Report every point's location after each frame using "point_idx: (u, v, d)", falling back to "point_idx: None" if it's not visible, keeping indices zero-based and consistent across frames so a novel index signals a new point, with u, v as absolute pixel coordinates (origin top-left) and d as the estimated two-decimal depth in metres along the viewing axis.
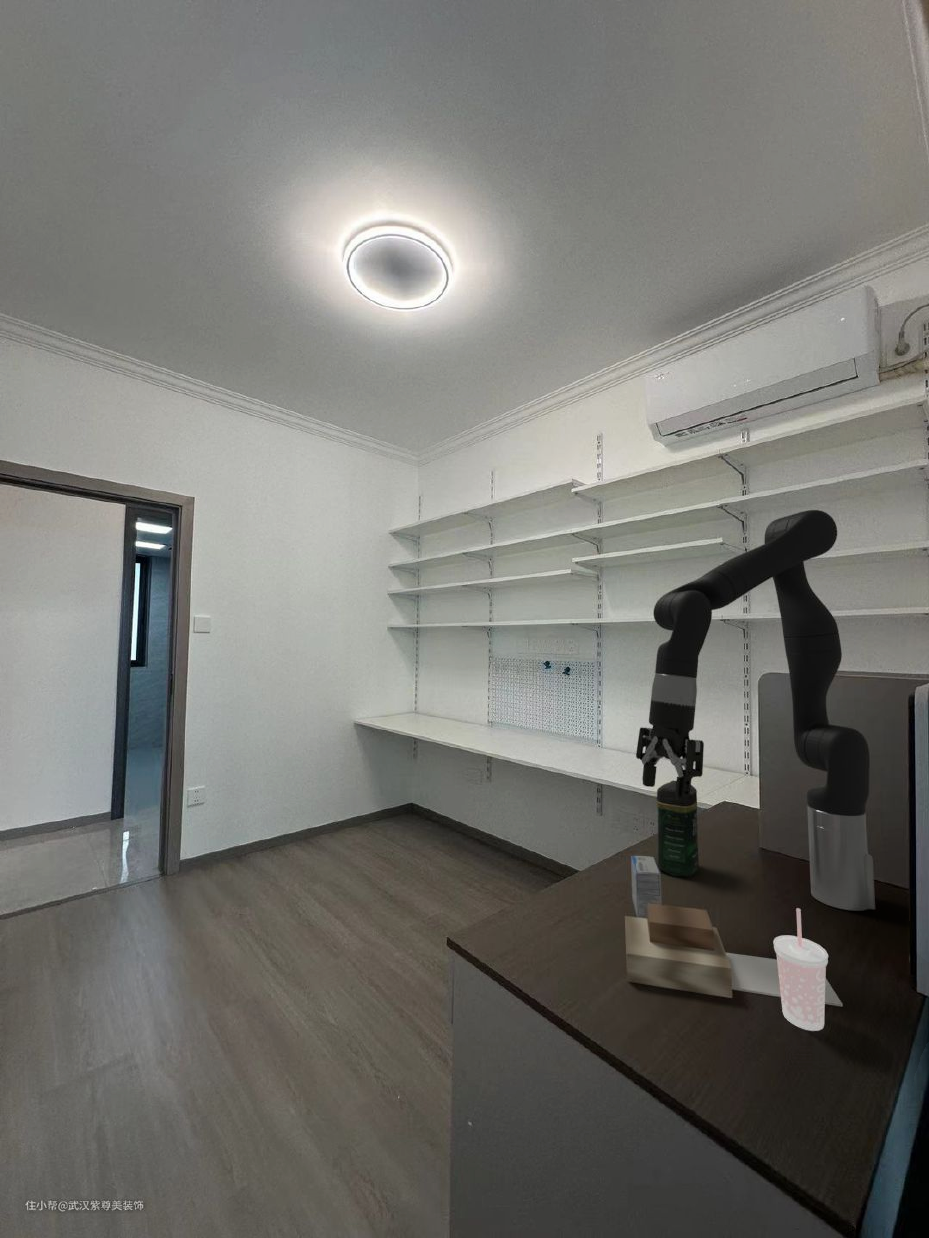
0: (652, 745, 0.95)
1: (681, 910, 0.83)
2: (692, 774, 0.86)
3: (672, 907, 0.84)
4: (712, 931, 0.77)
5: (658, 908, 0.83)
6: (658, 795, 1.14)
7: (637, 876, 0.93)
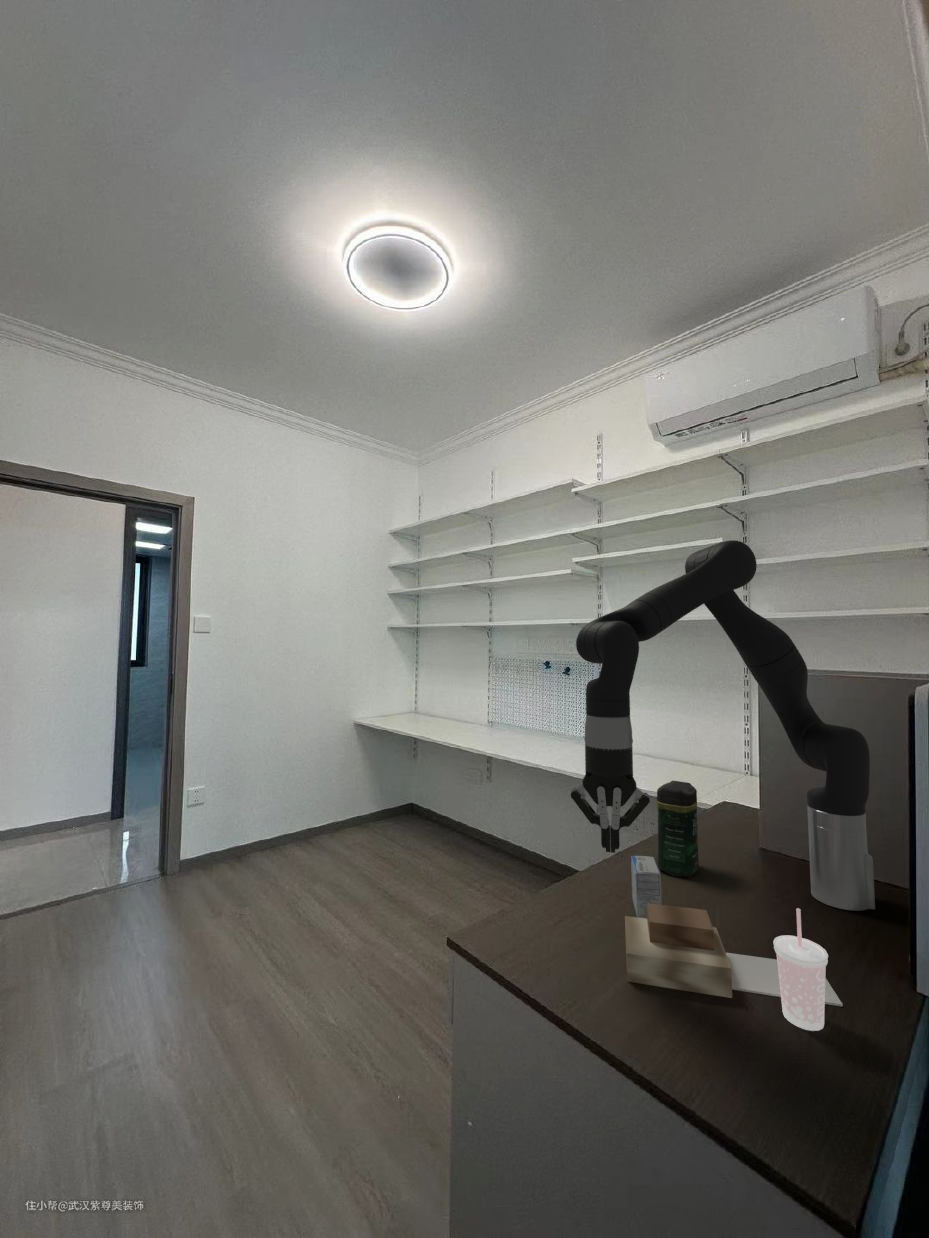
0: (601, 799, 0.84)
1: (681, 910, 0.83)
2: None
3: (672, 907, 0.84)
4: (712, 931, 0.77)
5: (658, 908, 0.83)
6: (658, 795, 1.14)
7: (637, 876, 0.93)
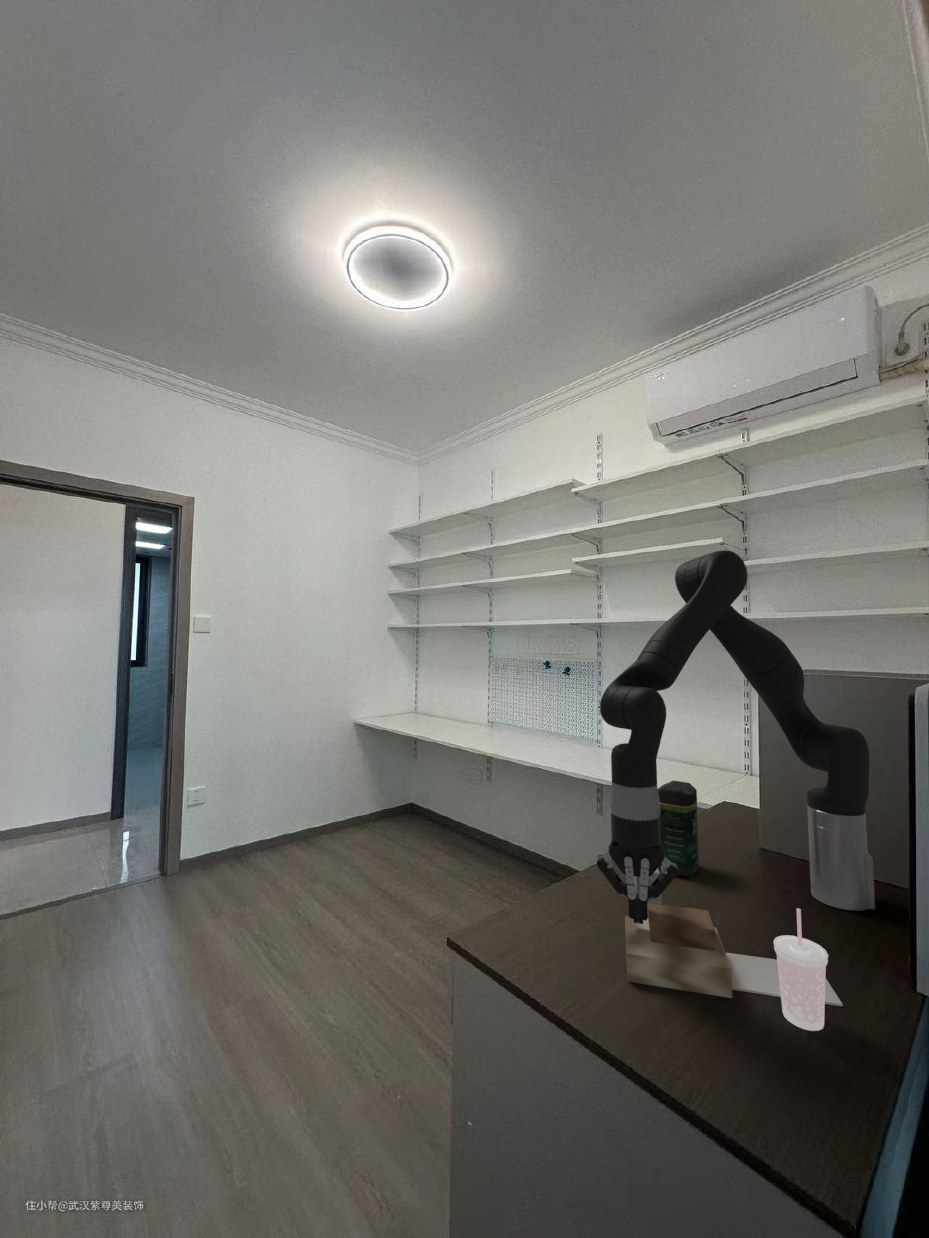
0: (628, 870, 0.82)
1: (682, 911, 0.83)
2: None
3: (673, 907, 0.84)
4: (713, 931, 0.77)
5: (659, 908, 0.83)
6: None
7: (637, 876, 0.93)
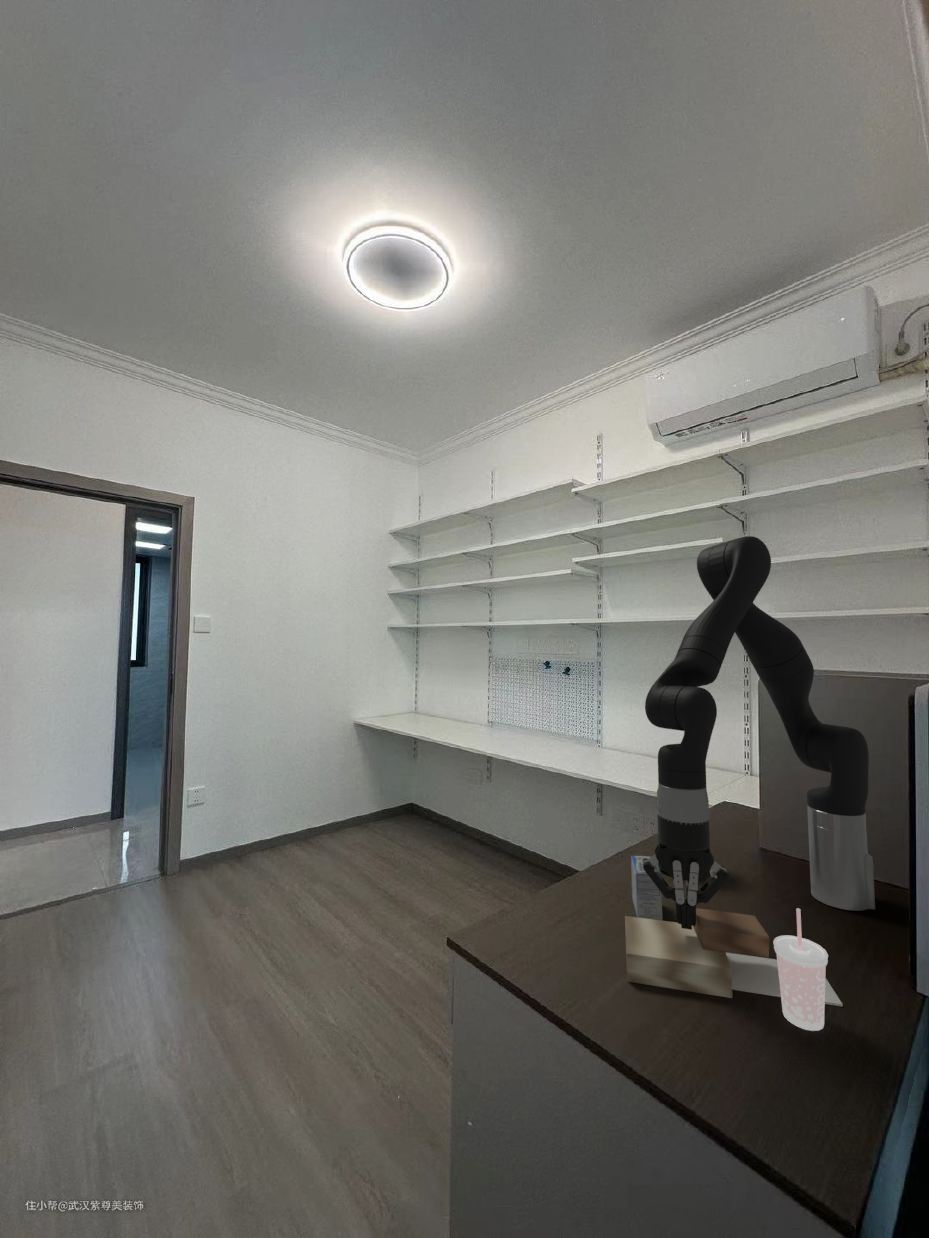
0: (676, 874, 0.80)
1: (730, 916, 0.81)
2: None
3: (720, 912, 0.82)
4: (768, 938, 0.76)
5: (707, 913, 0.82)
6: None
7: (637, 876, 0.93)
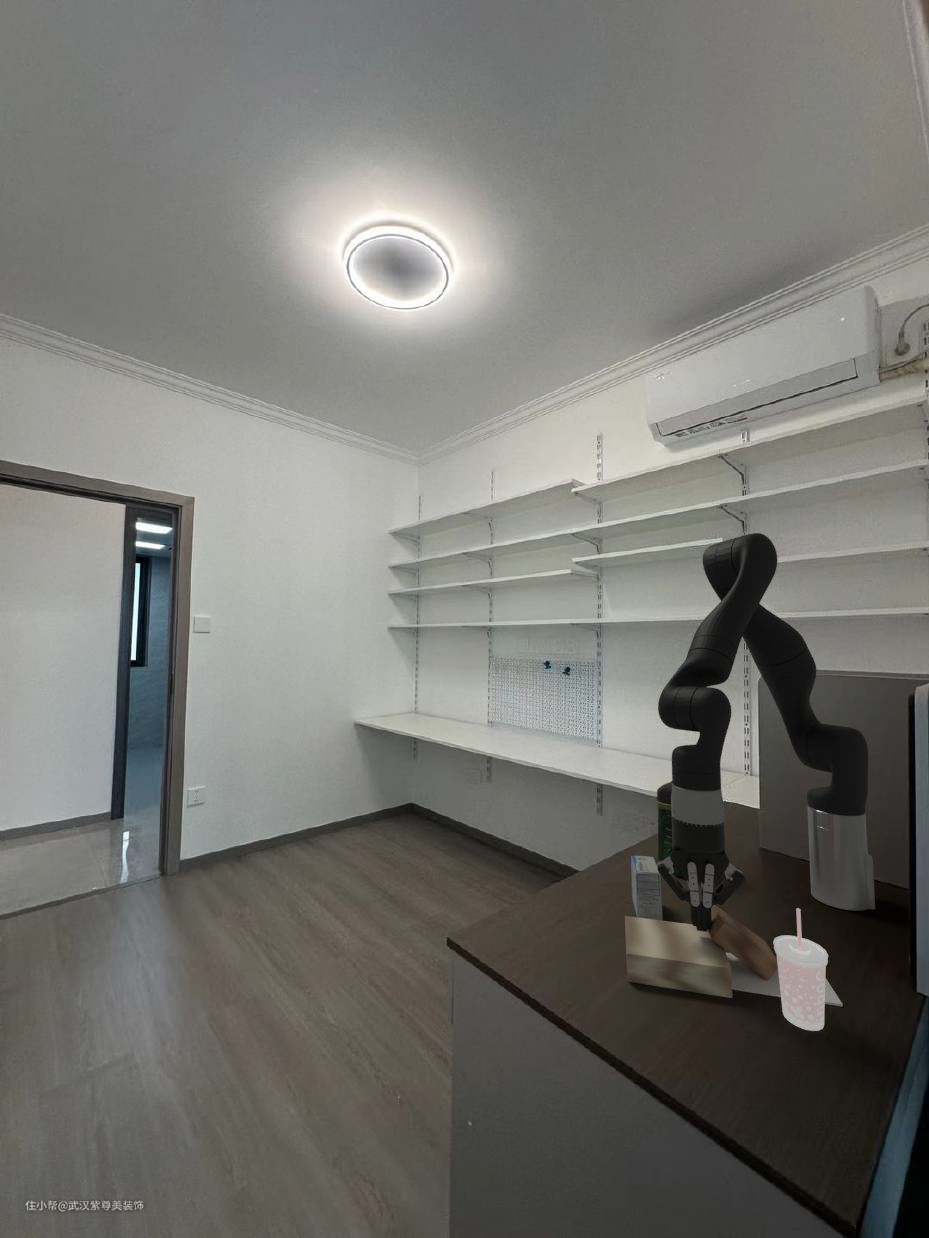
0: (691, 876, 0.80)
1: (745, 929, 0.81)
2: None
3: (736, 921, 0.82)
4: None
5: (725, 915, 0.81)
6: (658, 795, 1.14)
7: (637, 876, 0.93)
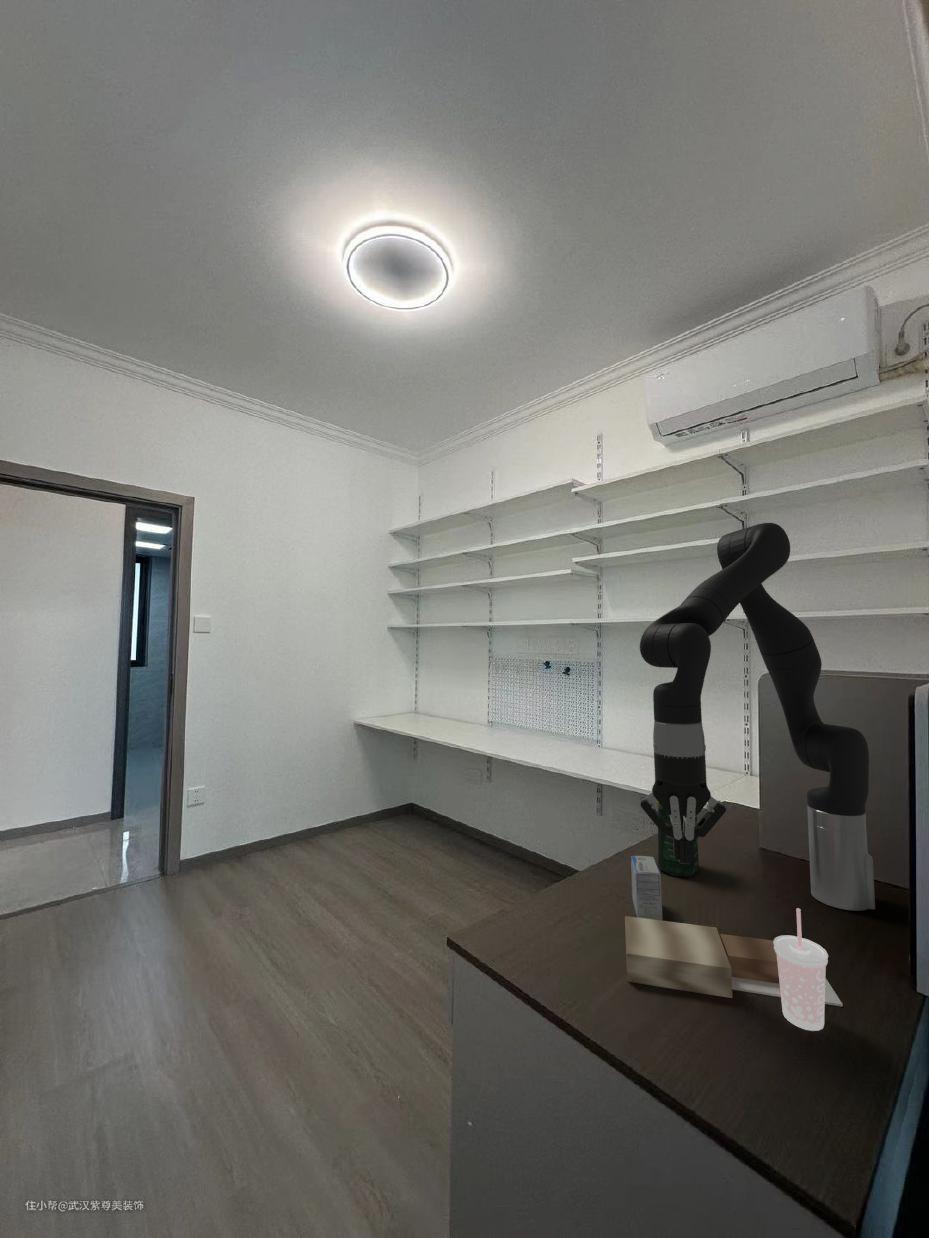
0: (674, 809, 0.80)
1: (758, 942, 0.80)
2: None
3: (747, 938, 0.81)
4: None
5: (733, 940, 0.81)
6: None
7: (637, 876, 0.93)
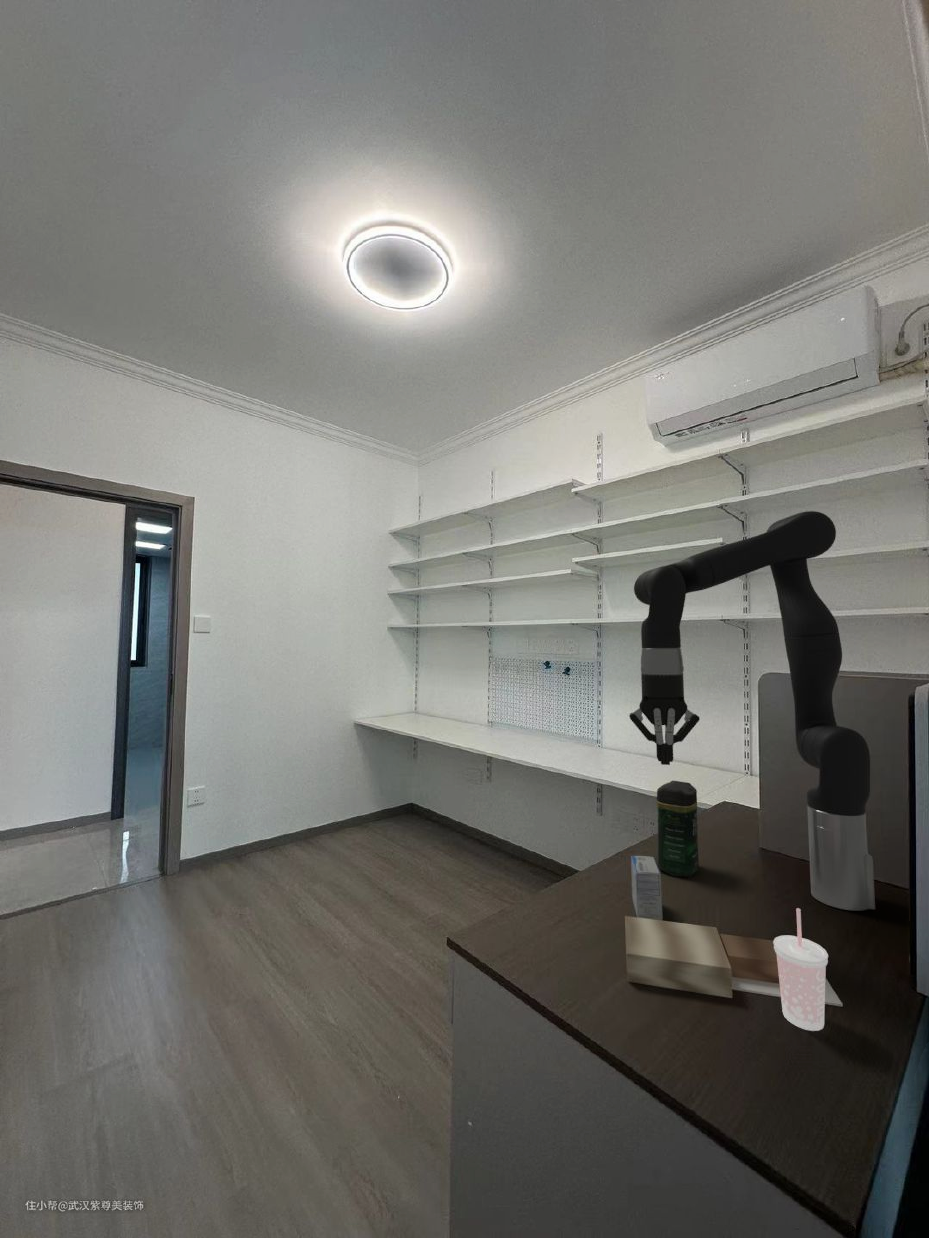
0: (657, 719, 0.97)
1: (758, 942, 0.80)
2: None
3: (747, 938, 0.81)
4: None
5: (733, 940, 0.81)
6: (658, 795, 1.14)
7: (637, 876, 0.93)
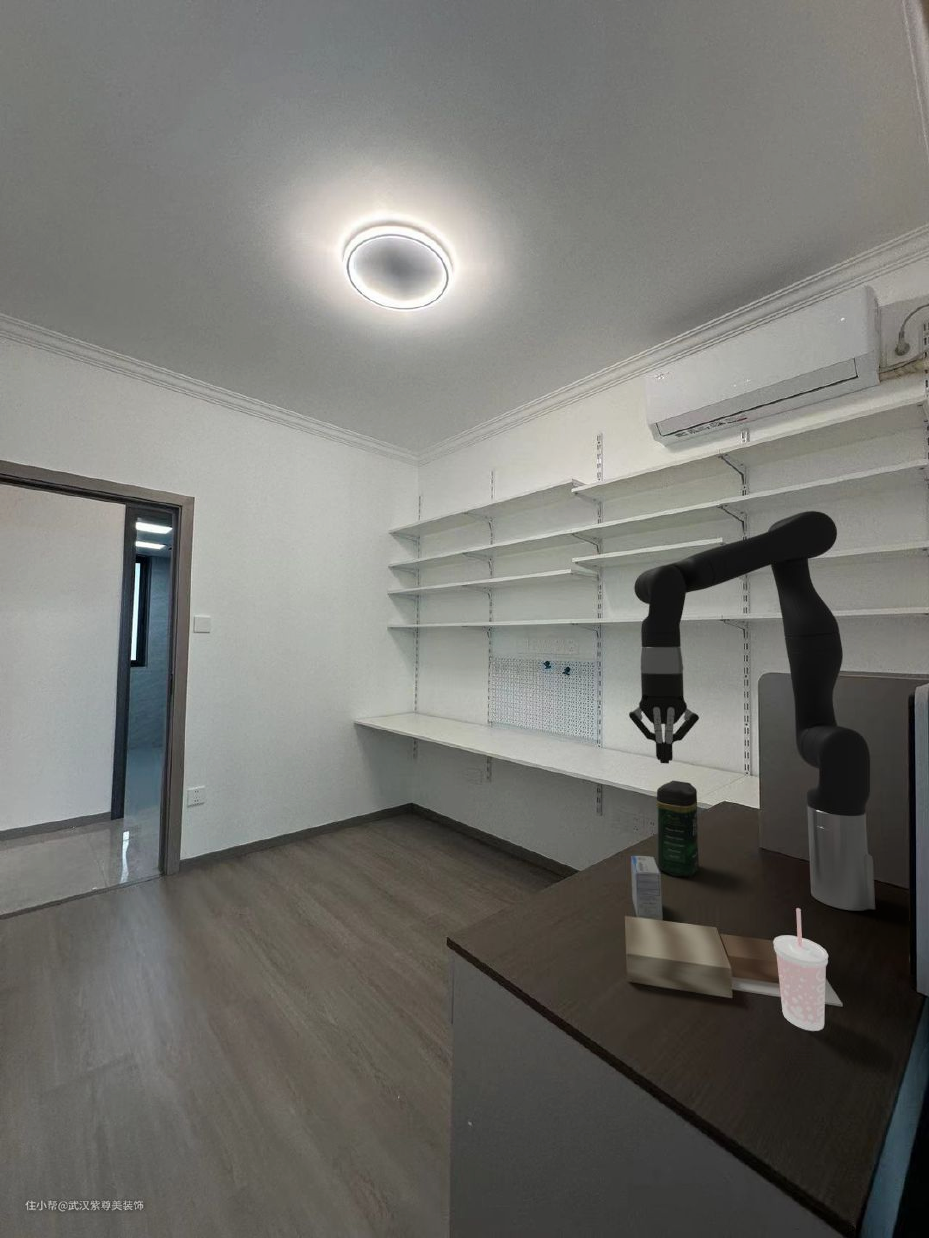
0: (656, 718, 0.98)
1: (758, 942, 0.80)
2: None
3: (747, 938, 0.81)
4: None
5: (733, 940, 0.81)
6: (658, 795, 1.14)
7: (637, 876, 0.93)
